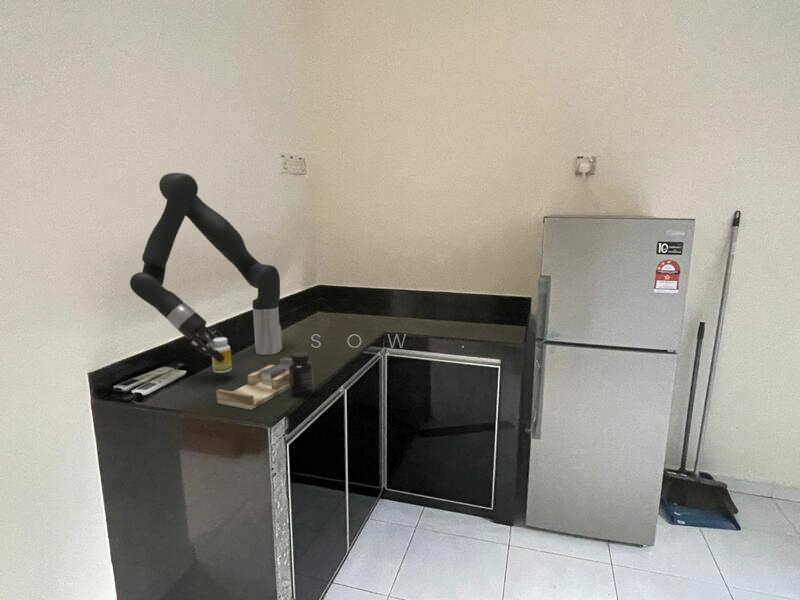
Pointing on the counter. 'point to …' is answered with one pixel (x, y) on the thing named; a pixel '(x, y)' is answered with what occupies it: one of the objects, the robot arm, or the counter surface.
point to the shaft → (276, 371)
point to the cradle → (254, 391)
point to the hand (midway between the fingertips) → (227, 357)
